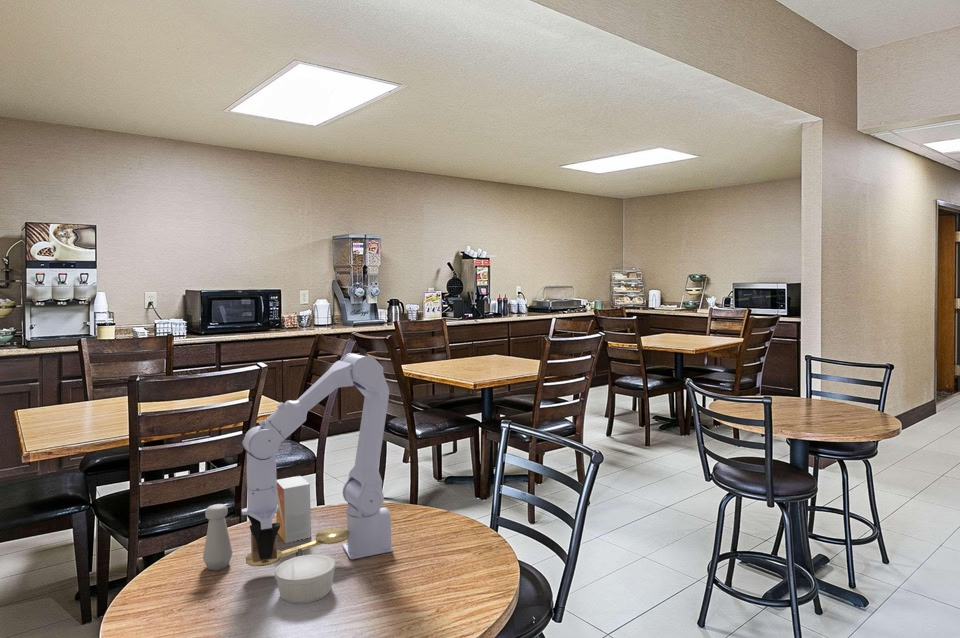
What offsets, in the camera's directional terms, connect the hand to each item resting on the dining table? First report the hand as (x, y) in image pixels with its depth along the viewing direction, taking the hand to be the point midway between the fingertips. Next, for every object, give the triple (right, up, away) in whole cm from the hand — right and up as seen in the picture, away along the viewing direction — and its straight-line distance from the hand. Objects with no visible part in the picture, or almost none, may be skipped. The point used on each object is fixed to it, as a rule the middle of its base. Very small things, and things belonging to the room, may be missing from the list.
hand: (263, 551), depth 125 cm
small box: (0, -4, +21) cm, 21 cm away
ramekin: (+11, -6, -7) cm, 14 cm away
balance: (+6, -5, +3) cm, 9 cm away
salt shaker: (-11, -5, +5) cm, 13 cm away
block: (0, -1, 0) cm, 1 cm away
